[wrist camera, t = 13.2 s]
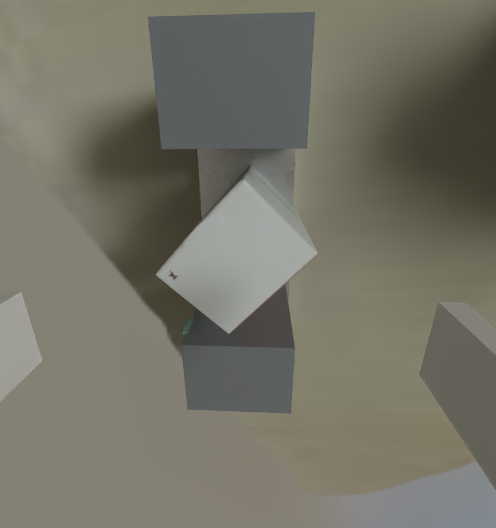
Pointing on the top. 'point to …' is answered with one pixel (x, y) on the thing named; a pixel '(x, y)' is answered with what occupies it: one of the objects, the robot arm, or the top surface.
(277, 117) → the block
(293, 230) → the small box
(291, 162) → the rail plate
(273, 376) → the block
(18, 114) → the top surface
